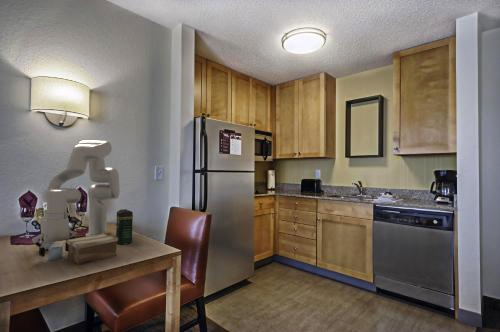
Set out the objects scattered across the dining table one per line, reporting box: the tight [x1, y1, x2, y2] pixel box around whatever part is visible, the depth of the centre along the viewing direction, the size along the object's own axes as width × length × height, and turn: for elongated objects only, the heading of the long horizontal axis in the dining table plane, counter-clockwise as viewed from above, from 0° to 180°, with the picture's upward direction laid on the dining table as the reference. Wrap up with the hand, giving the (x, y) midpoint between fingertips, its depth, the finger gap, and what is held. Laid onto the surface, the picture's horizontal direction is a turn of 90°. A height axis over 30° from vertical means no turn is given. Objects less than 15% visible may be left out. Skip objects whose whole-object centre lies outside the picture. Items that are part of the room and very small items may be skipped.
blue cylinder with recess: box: [48, 245, 64, 261], centre depth 122 cm, size 5×5×5 cm
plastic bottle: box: [39, 209, 56, 251], centre depth 134 cm, size 6×7×20 cm
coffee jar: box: [115, 208, 134, 245], centre depth 149 cm, size 10×8×19 cm
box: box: [67, 241, 117, 266], centre depth 123 cm, size 12×16×7 cm
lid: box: [67, 230, 118, 249], centre depth 123 cm, size 13×17×3 cm
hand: (55, 253), depth 121 cm, fingers open, 9 cm apart
